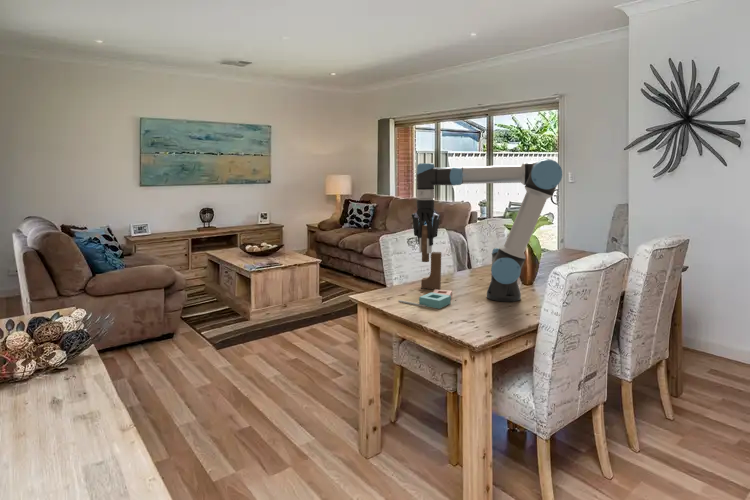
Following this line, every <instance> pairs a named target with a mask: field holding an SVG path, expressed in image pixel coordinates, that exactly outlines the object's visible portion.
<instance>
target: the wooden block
mask: <svg viewBox="0 0 750 500" xmlns="http://www.w3.org/2000/svg"><path fill="white" fill-rule="evenodd" d="M441 280H442V252H441V251H432V253H430V273H429V276H428V277H422V279H421V285H420V286H421V289H423V288H427V289H426V290H441V285H442V284H441V283H442V282H441Z"/></svg>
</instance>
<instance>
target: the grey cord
mask: <svg viewBox="0 0 750 500" xmlns="http://www.w3.org/2000/svg"><path fill="white" fill-rule="evenodd" d="M402 302H403V303H402ZM398 303H402V304H407V305H413V306H417V307H423V308H426V307H427V306H426V305H422V304H419V303H416V302H413V301H407V300H402V299H399V300H398Z"/></svg>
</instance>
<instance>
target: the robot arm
mask: <svg viewBox="0 0 750 500" xmlns="http://www.w3.org/2000/svg"><path fill="white" fill-rule="evenodd" d="M562 178H563V170H562V166H561V165H560V163H558V162H557V161H556V160H554V159H550V158H545V159H544V158H543V159H539V160H537V161H530V162H522V164H518V165H517V164H516V165H488V166H487V165H485V166H484V165H483V166H458V167H457V166H450V167H435V164H434V163H433V162H428V163H426V162H425V163H423V162H422V163H418V164H417V166H416V199H417V200H416V209H417V210H416V212H415V213H411V219H412V221H413V222H412V223H413V224H412V225H413V226H412V227H413V235H414V236H415V237H417V244H418V246H419V253H420V254H422V225H425V223H426V225H427V230H428V238H427V253H429V254H431V253H432V252H433V251H432V249H433V246H434V238H437V237H438V230H439V219H440V217H441V215H440V214H438V213H435V186H460V185H468V184H469V185H470V184H473V185H474V184H477V185H479V184H507V183H508V184H518V183H520V184H522V185H524V189H525V191H526V192H525V195H524V197H523V200H522V202H521V205H520V206H519V209H518V211H517V215H516V217H515V218H514V221H513V223H512V226H511V228H510V231H509V233H508V236H507V238H506V241H505V243H504V245H501V246H499V247H495V248H493V249H492V253H491V269H490V271H491V274H490V275H491V278H490V283H489V284H488V287H487V291H486V298H487V299H488V300H491V301H496V302H501V303H502V302H503V303H508V302H509V303H510V302H512V303H513V302H517V301H521V297H522V295H521V290H520V287H519V283H518V280H519V278H520V276H521V274H522V273H521V272H522V268H523V266H524V263H525V261H526V259H527V258H526V254H525V252H526V249H527V247H528V246H527V245H528V244H529V242H530V241H531V237H532V235H533V232H534V230H535V227H536V225H537V223H538V221H539V219H540V216H541V214H542V211H543V209H544V207H545V204H546V202H547V200H548V199H550V198H552V197H553V196H554V193H555V191H556V188H557V186H558V185H559V184H560V183H561V181H562Z"/></svg>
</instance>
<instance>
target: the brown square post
mask: <svg viewBox="0 0 750 500" xmlns="http://www.w3.org/2000/svg"><path fill="white" fill-rule="evenodd" d="M427 238H428V230H427V224H424V225H422V253H421V263H429V262H430V253H427Z"/></svg>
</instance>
